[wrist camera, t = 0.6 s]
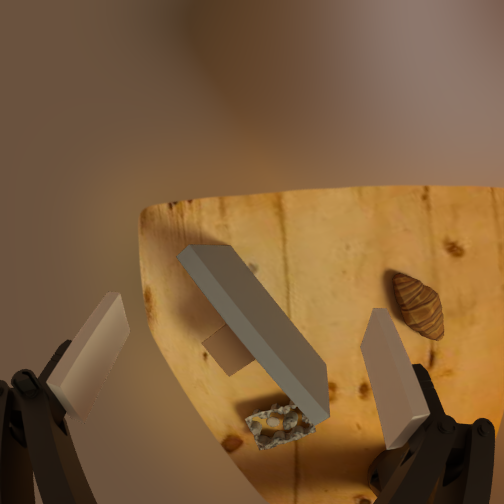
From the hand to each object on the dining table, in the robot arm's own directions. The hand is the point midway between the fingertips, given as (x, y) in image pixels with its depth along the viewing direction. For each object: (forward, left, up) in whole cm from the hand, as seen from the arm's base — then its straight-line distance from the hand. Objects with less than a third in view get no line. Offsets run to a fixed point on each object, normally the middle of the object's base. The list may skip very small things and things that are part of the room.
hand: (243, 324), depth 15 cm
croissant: (-17, -13, -31) cm, 37 cm away
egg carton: (-19, +16, -31) cm, 40 cm away
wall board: (-3, +9, -30) cm, 32 cm away
